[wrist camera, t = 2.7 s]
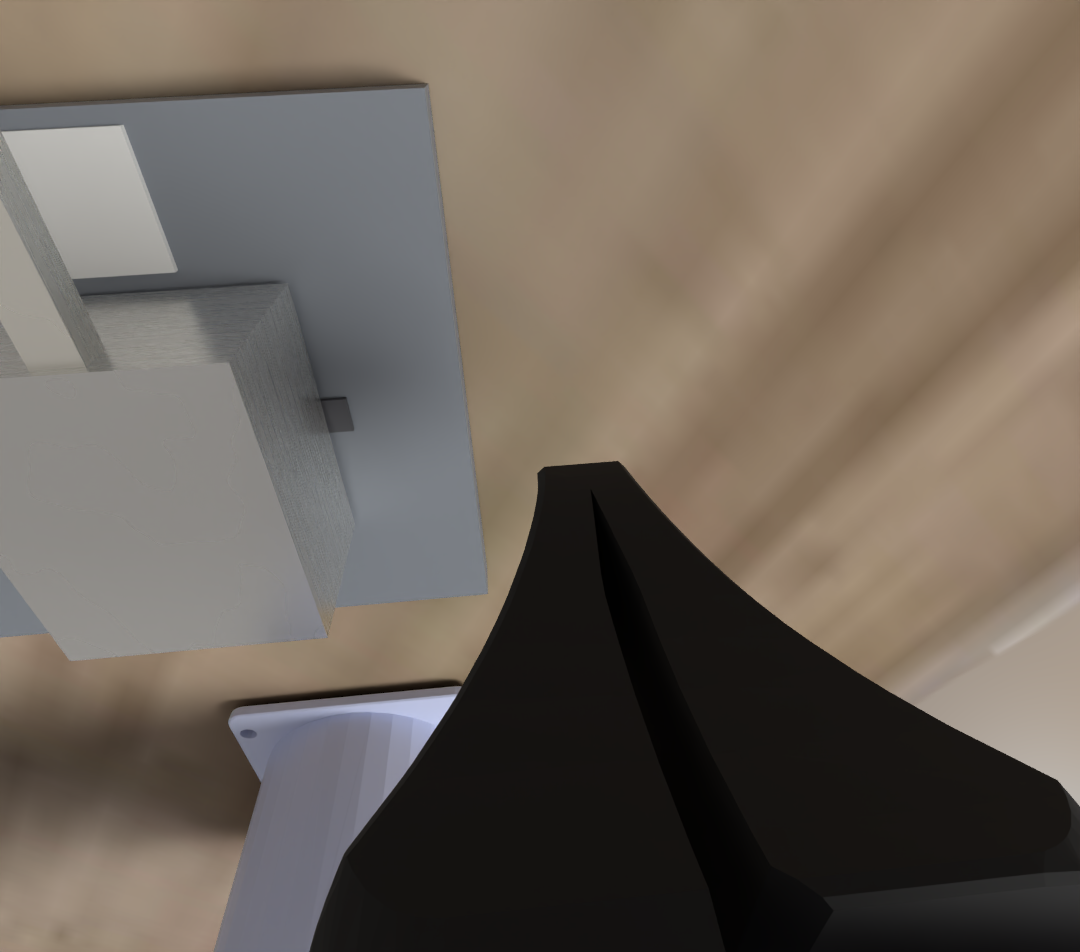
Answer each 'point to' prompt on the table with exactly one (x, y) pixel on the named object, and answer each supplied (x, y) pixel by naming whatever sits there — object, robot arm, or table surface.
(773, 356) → the table surface
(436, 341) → the gauge board
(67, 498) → the slider block with tab
